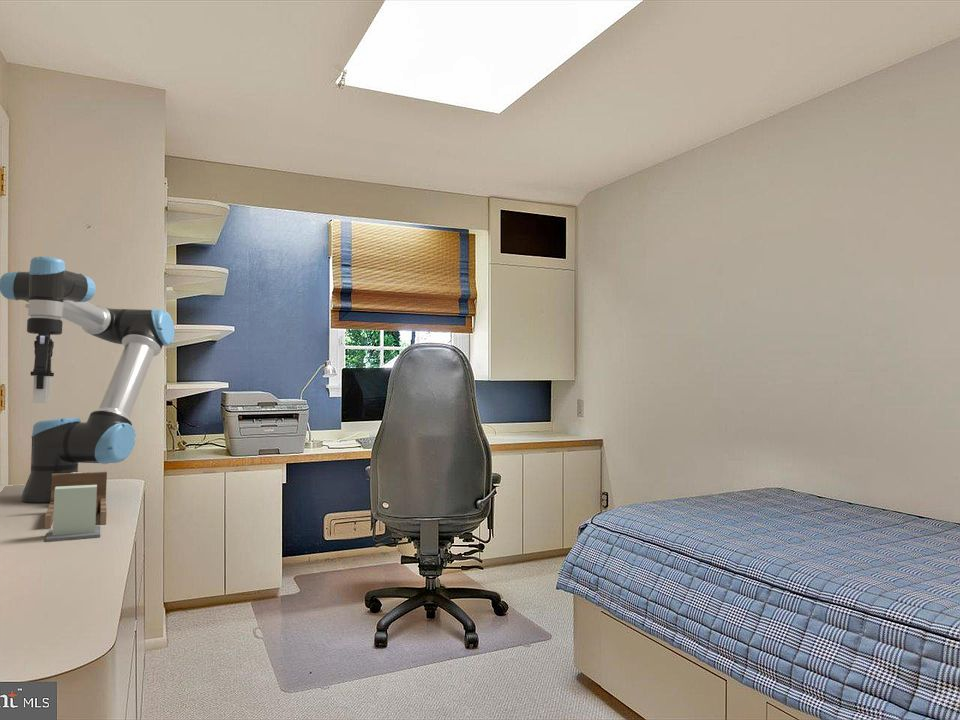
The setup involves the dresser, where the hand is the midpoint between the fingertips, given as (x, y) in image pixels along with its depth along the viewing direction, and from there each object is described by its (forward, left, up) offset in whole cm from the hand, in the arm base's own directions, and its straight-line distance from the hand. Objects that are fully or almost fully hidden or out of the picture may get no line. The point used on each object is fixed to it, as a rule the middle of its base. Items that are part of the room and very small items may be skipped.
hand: (41, 402), depth 169 cm
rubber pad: (+16, +24, -29) cm, 40 cm away
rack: (-1, +11, -29) cm, 31 cm away
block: (+16, +24, -28) cm, 40 cm away
